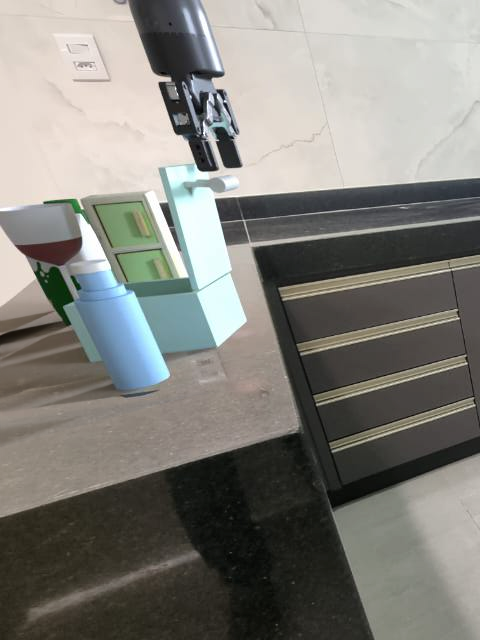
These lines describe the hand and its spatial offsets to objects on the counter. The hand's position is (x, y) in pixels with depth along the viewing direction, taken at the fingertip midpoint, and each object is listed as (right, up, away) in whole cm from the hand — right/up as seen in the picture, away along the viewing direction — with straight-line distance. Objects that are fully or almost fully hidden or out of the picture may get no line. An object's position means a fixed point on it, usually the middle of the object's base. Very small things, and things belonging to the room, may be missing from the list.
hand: (222, 169), depth 73 cm
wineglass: (-32, -22, +14) cm, 41 cm away
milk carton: (-38, -19, +20) cm, 48 cm away
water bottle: (-4, -30, -7) cm, 31 cm away
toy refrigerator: (-23, -20, +18) cm, 35 cm away
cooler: (-12, -24, +7) cm, 28 cm away
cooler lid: (-5, -7, +2) cm, 9 cm away
